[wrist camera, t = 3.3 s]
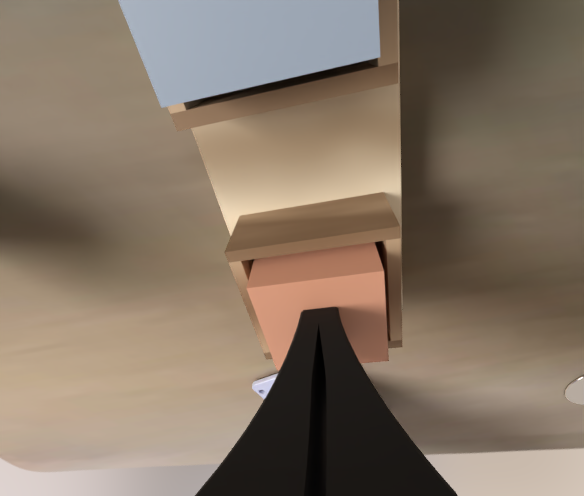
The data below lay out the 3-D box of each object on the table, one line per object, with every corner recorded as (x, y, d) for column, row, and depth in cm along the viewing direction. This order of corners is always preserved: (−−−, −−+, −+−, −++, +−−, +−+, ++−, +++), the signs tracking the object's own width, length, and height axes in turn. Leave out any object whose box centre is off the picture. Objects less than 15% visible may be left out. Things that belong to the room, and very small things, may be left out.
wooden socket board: (394, 286, 19) (418, 355, 14) (267, 301, 20) (256, 369, 16) (378, -233, 8) (444, -499, 4) (120, -136, 10) (-23, -274, 6)
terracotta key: (375, 309, 15) (388, 360, 13) (282, 319, 16) (277, 370, 13) (369, 226, 13) (384, 270, 10) (258, 243, 13) (246, 288, 11)
